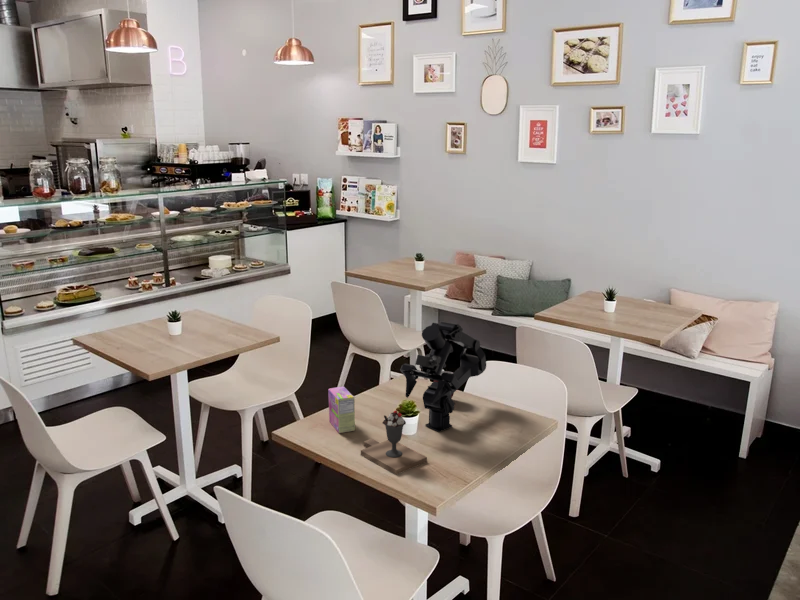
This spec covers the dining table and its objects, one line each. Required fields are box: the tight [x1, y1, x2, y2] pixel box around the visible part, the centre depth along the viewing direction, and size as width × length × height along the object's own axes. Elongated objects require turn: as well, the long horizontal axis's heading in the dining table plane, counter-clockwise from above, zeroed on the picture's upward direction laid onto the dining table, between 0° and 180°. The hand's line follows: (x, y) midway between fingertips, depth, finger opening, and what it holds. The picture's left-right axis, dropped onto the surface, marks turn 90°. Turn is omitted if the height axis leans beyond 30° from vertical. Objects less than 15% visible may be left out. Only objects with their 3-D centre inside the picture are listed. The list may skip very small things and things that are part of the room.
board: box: [360, 438, 428, 476], centre depth 198 cm, size 20×12×2 cm, turn 42°
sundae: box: [382, 405, 407, 458], centre depth 194 cm, size 7×7×15 cm
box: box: [327, 386, 356, 434], centre depth 217 cm, size 10×6×12 cm, turn 23°
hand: (419, 400), depth 205 cm, fingers open, 9 cm apart
